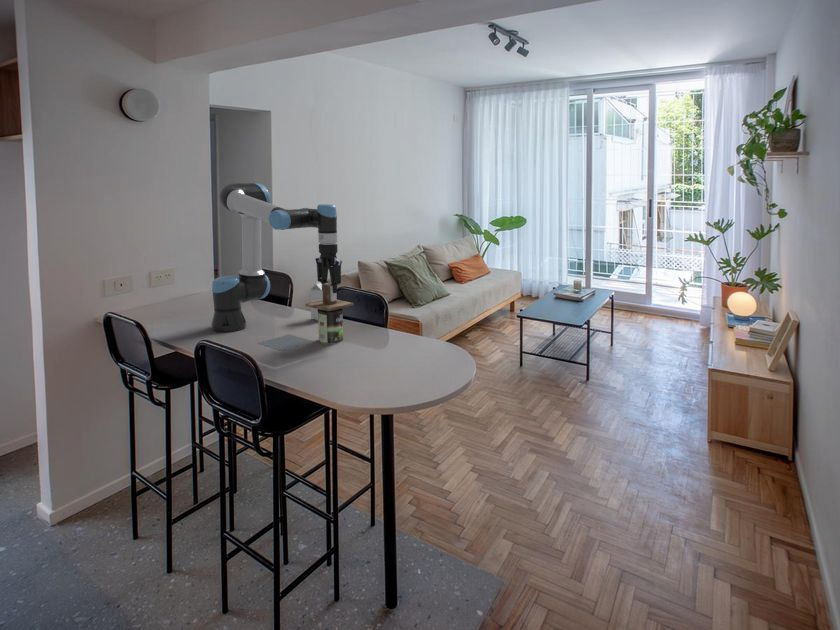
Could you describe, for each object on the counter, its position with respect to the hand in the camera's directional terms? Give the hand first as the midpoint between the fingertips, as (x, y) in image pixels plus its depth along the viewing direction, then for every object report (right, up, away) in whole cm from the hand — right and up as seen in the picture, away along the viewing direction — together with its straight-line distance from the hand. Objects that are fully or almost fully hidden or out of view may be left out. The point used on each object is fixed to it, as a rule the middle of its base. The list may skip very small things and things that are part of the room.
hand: (329, 299), depth 227 cm
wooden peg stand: (0, -2, +1) cm, 3 cm away
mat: (-18, -18, +1) cm, 26 cm away
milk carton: (-11, -8, +41) cm, 43 cm away
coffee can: (0, -18, +4) cm, 18 cm away
